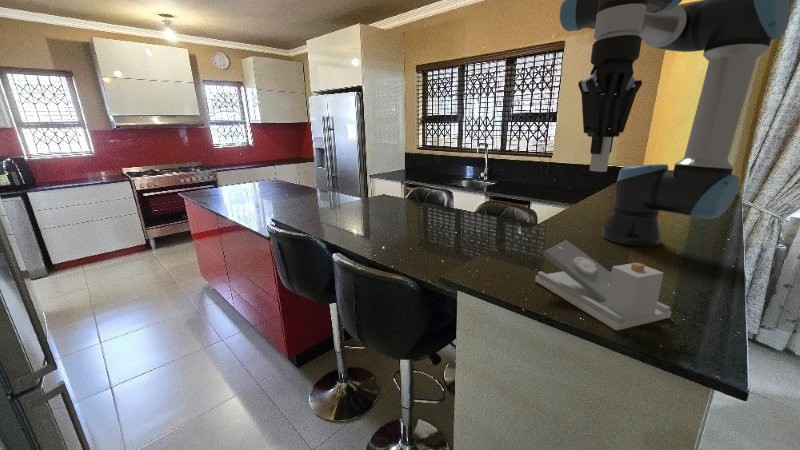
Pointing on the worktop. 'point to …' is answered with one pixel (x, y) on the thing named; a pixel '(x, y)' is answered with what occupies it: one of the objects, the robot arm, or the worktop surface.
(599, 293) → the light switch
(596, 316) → the rail board
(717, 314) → the worktop surface
